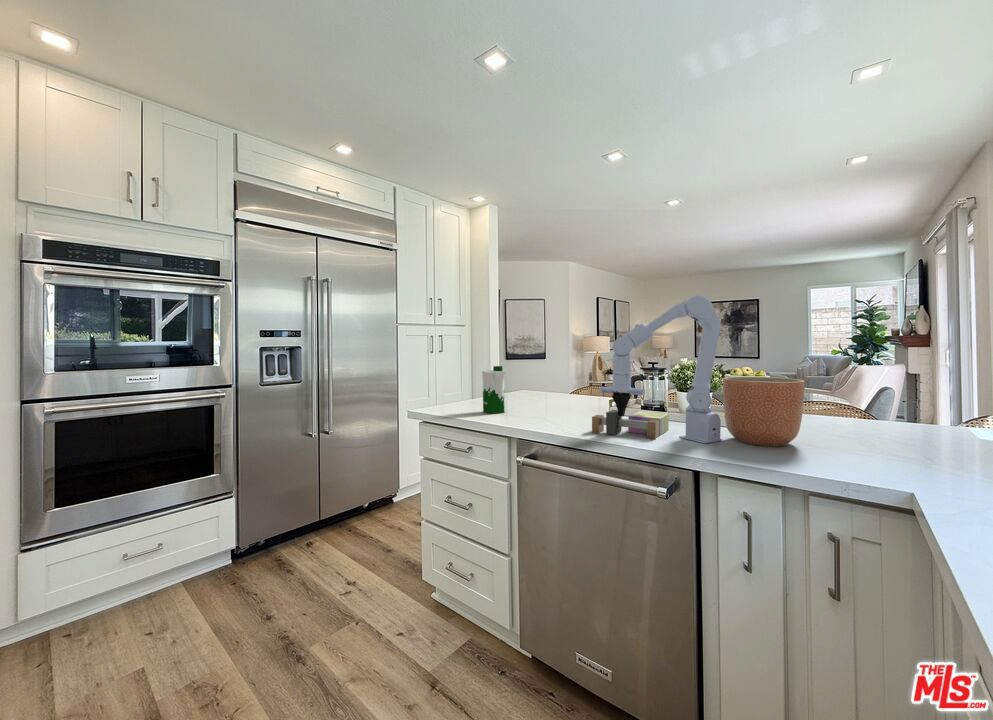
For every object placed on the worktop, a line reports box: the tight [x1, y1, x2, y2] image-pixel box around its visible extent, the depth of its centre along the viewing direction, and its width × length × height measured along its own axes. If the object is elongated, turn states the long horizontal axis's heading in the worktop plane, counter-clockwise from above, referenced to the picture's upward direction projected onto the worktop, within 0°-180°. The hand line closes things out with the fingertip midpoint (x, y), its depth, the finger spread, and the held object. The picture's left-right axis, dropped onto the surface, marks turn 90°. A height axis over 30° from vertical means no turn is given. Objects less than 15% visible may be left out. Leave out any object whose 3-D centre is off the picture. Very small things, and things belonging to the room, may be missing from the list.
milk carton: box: [481, 365, 506, 415], centre depth 189 cm, size 9×9×20 cm
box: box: [627, 410, 670, 436], centre depth 147 cm, size 10×6×12 cm
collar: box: [605, 409, 623, 436], centre depth 144 cm, size 3×7×7 cm, turn 148°
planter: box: [722, 376, 806, 447], centre depth 130 cm, size 21×21×19 cm
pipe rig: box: [591, 414, 659, 440], centre depth 142 cm, size 20×5×5 cm, turn 58°
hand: (621, 416), depth 143 cm, fingers closed
